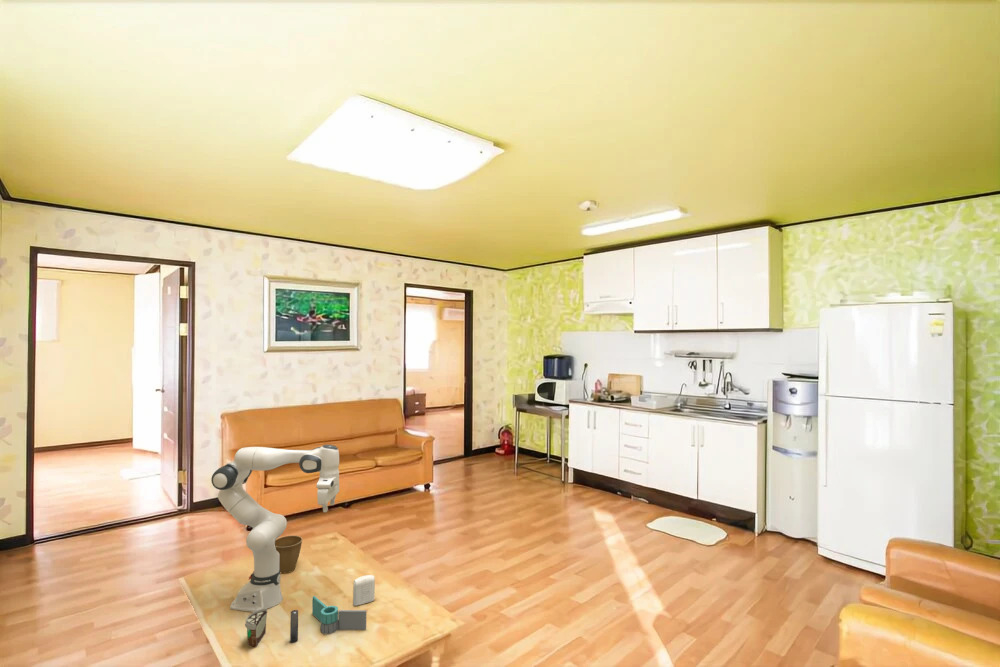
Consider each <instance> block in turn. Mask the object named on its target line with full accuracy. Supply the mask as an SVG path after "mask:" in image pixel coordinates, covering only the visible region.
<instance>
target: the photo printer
mask: <svg viewBox="0 0 1000 667" xmlns="http://www.w3.org/2000/svg"><path fill="white" fill-rule="evenodd" d="M375 580H376V579H375V575H373V574H367V575H361V576H359V577H357V578H355V579H354V580H353V591H352V593H353V596H352V597H353V598H352V605H353V606H354V607H356V606H360V605H364V604H367V603H372V602H373V601H375V584H376V581H375Z"/></svg>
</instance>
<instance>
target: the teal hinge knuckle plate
mask: <svg viewBox="0 0 1000 667" xmlns="http://www.w3.org/2000/svg"><path fill="white" fill-rule="evenodd" d="M311 601H312V603H311V604H312V606H311V610H312V615H313V616H314V617H315V618H316V619H317V620H318V621H319V622H320V623H321V622H322V623H323V624H331V623H334V622H336V621H337V620H338V611H339V607H338V606H337V605H326V604H325V603H324V602H323V601H321V600H320V599H319V598H318V597H316V596H315V595H313V596H312V600H311Z"/></svg>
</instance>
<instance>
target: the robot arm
mask: <svg viewBox="0 0 1000 667" xmlns="http://www.w3.org/2000/svg"><path fill="white" fill-rule="evenodd" d="M287 464H298V465H299V468H300V470H301V471H302V472H303V473H304V474H313V473H319V476H318V477H319V478H318V481H317V483H316V488H317V492H316V495H317V497H316V498H317V504H318V505H319V506H321V507H322V511H323V512H322V513H327V512H328V511H329V507H328V503H329V505H330V506H334V505H335V501H336V496H337V495H338V493H339V492H340V469H339V466H340V452H339V448H338V446H336V445H333V444H323V445H322V446H318V447H315V448H313V449H284V448H276V447H275V448H274V447H265V446H248V447H247V446H245V447H242V448H239V449H237V451H236V453H235V454H234V458H233V461H230V462H228V463H226V464H225V465H223V466H221V467H219V468H218V469H217V470H215V471H214V473H213V474H212V475H211V478H210V480H211V484H212V487H213V488H215V489H216V490H219V492H218V493H217V499H218V500H219V502H220V503H221V506H222V507H224V509H225V510H226V511H227V512H228V513H229V514H230V516H232V517H233V519H234V520H236V521H237V522H238V524H240V525H243V526H247V527H250V528H252V529H251V530H250V532H249V533H248V534H247V536H246V539H245V543H246V546H247V548H249V550H250V551H251V552H252V556H253V564H254V565H253V572H252V573H250V576H248V582H247V583H245V584H244V585H243V586H242V587H241V588H240V589H238V590H239V591H238V592H237V595H236V598H234V599H233V601H232V602H231V603H230V610H234V611H243V612H251V613H253V612H255V611H258V610H262V609H267V610H268V609H270V608H273V607H275V606H277V605H278V604H280V603H282V601H283V599H284V598H283V594H282V590H281V583H280V582H281V572H280V568H279V565H280V554H279V552H278V551H276V548H275V541H276V539H278V538H280V537H281V536H282V535H283V534H284V532H285V530H286V528H287V526H288V521H287V518H286V517H285V516H284V515H283V514H280V513H274V512H272V511H270V510H269V509H267V508H265V507H264V506H262V505H260V503H258V502H257V501H256V500H255V499H254V498H253V497H252V496H251V495H250V494H249V493H248V492H247V491H246V490H245V489H244V487H243V485H244V484H246V483H247V481H248V479H249V478H250V476H251V474H252V472H253V471H259V472H260V471H270V470H273V469H276V468H278V467H281V466H283V465H287Z"/></svg>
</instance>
